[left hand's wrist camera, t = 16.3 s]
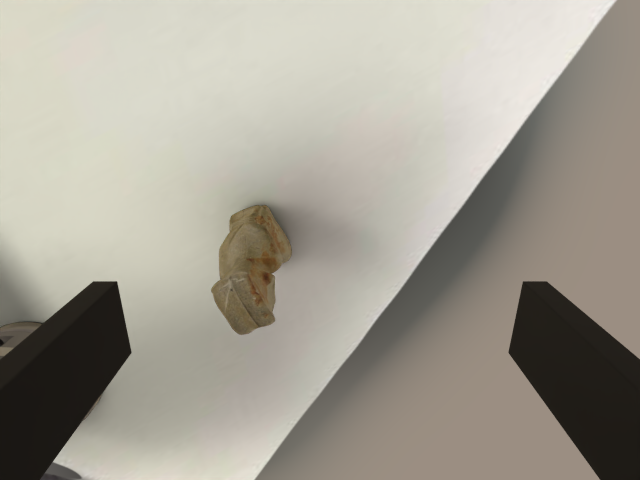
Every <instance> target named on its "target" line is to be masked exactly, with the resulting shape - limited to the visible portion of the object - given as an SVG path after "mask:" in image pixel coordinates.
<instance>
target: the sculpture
mask: <svg viewBox="0 0 640 480" xmlns="http://www.w3.org/2000/svg"><path fill="white" fill-rule="evenodd" d="M291 254H292V250H291V246H290V243H289V241H288V239H287V237H286V235H285V234H284V232H283V230H282V229H281V227H280V226H279V225H278V223H277V222H276V220H275V219H274V217H273V215H272V214H271V211H270V209H269V208H268V207H267V206H266V205H263V206H259V205H256V206H253V207H250V208H247V209H244V210H242V211H239V212H237V213H235V214H234V215H232V216H231V218H230V233H229V234H228V236H227V237H226V239H225V240H224V242H223V243H222V245H221V247H220V250H219V271H220V279H221V280H220V281H218V282H217V283H216V284H215V285H214V286H213V287H212V289H211V292H212V293H213V296H214V299H215V302H216V304H217V306H218V308H219V309H220V311H221V312H222V313H223V315H224V316H225V318H226V319H227V321H228V322H229V324H230V325H231V327H232V329H233V330H234V331H235V332H237V333H238V334H240V335H243V334H248V333H250V332H252V331H253V330H255V329H256V328H259V327H264V326H267V325H271V324H272V323H274V322H275V318H274V315H273V313H272V311H273V308H274V304H275V277H274V275H272V273H273V272H275V271H276V270H278V269H279V268H280V266H281V264H282V263H284V262H287V261H288V260H289V259H290V257H291Z"/></svg>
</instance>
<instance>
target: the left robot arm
mask: <svg viewBox="0 0 640 480" xmlns="http://www.w3.org/2000/svg"><path fill="white" fill-rule="evenodd" d="M130 354H131V348H130V343H129V338H128V333H127V328H126V323H125V318H124V314H123V309H122V304H121V299H120V294H119V289H118V284H117V282H92V283H91V284H90V285H89V286H87V287H86V288H85V289H84V290H83V291H81V292H80V293H79V294H78V295H77V296H75V297H74V298H73V299H72V300H71V301H69V302H68V303H67V304H66V305H65V306H63V307H62V308H61V309H60V310H59V311H57V312H56V313H55V314H54V315H53V316H52V317H50V318H49V319H48V320H47V321H46V322H44V323H43V324H41V323H34V322H18V323H12V324H8V325H4V326H2V327H0V480H40V479H41V477H42V476H43V474H44V473H45V472H46V470H47V469H48V467H49V466H50V465H51V463H52V462H53V461H54V459H55V458H56V456H57V455H58V454H59V452H60V451H61V449H62V448H63V447H64V445H65V444H66V443H67V441H68V440H69V438H70V437H71V436H72V434H73V433H74V431H75V430H76V429H77V427H78V426H79V425H80V423H81V422H82V421H83V420H84V419H85V418H86V417H87V416H88V415H89V414H90V412H91V411H92V410H93V408H94V407H95V405H96V404H97V403H98V401H99V399H100V397H101V395H102V393H103V391H104V390H105V389H106V387H107V386H108V384H109V383H110V382H111V380H112V379H113V378H114V376H115V375H116V373H117V372H118V371H119V369H120V368H121V366H122V365H123V364H124V362H125V361H126V360H127V358H128V357H129V355H130ZM509 354H510V355H511V357H512V358H513V360H514V361H515V362H516V364H517V365H518V366H519V368H520V369H521V371H522V372H523V373H524V375H525V376H526V378H527V379H528V380H529V382H530V383H531V384H532V386H533V387H534V389H535V390H536V391H537V393H538V394H539V396H540V397H541V398H542V400H543V401H544V402H545V404H546V405H547V407H548V408H549V409H550V411H551V412H552V413H553V415H554V416H555V418H556V419H557V420H558V422H559V423H560V425H561V426H562V427H563V429H564V430H565V431H566V433H567V434H568V436H569V437H570V438H571V440H572V441H573V443H574V444H575V445H576V447H577V448H578V449H579V451H580V452H581V454H582V455H583V456H584V458H585V459H586V461H587V462H588V463H589V465H590V466H591V467H592V469H593V470H594V472H595V473H596V474H597V476H598V477H599V479H600V480H640V359H639V358H637V357H636V356H635V355H634V354H633V353H631V352H630V351H629V350H628V349H627V348H626V347H624V346H623V345H622V344H621V343H620V342H618V341H617V340H616V339H615V338H614V337H612V336H611V335H610V334H609V333H608V332H606V331H605V330H604V329H603V328H602V327H600V326H599V325H598V324H597V323H596V322H594V321H593V320H592V319H591V318H590V317H588V316H587V315H586V314H585V313H584V312H582V311H581V310H580V309H579V308H578V307H577V306H575V305H574V304H573V303H572V302H571V301H569V300H568V299H567V298H566V297H565V296H563V295H562V294H561V293H560V292H559V291H557V290H556V289H555V288H554V287H553V286H551V285H550V284H549V283H548V282H523V284H522V289H521V294H520V299H519V304H518V309H517V314H516V319H515V323H514V328H513V333H512V338H511V343H510V348H509Z"/></svg>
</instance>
